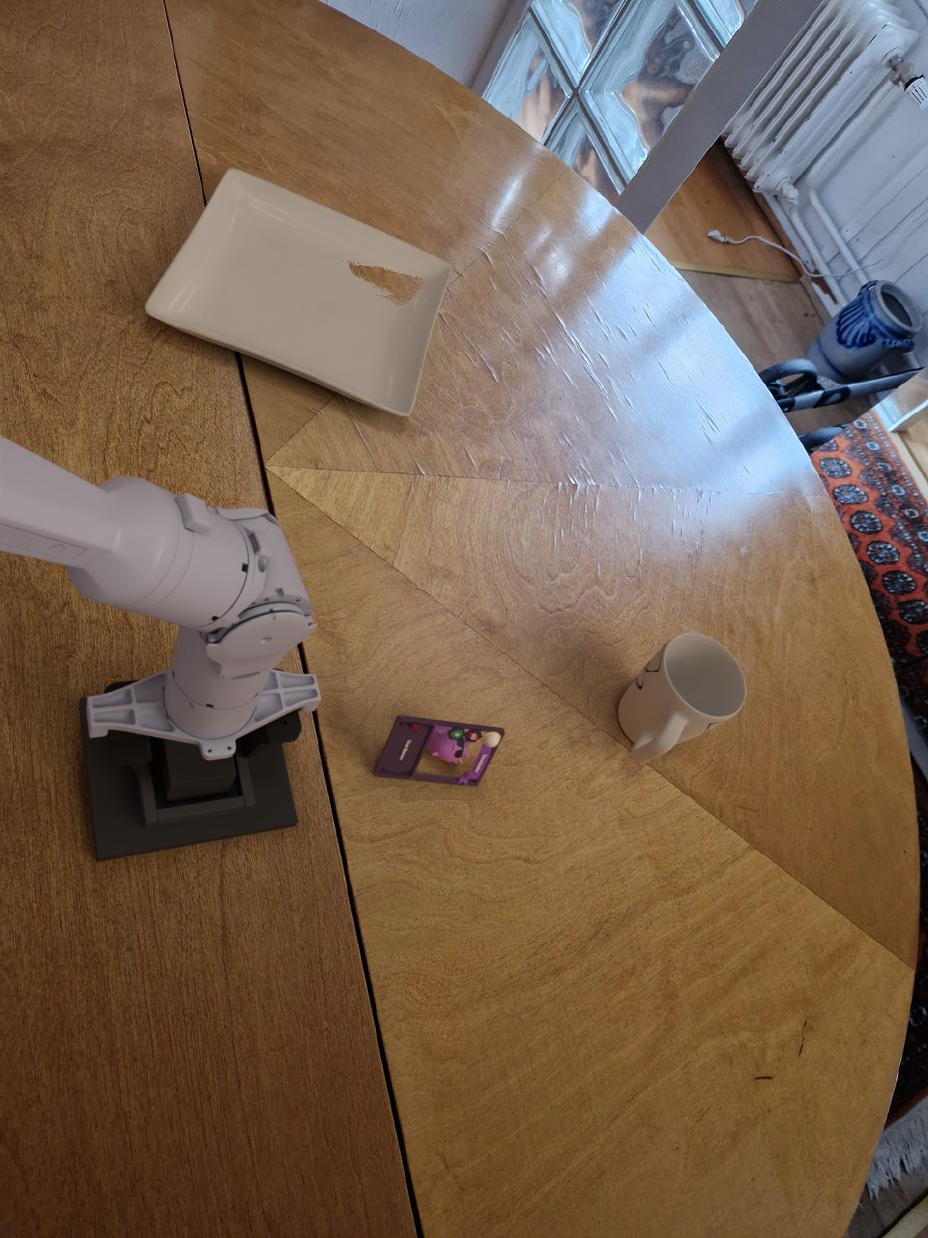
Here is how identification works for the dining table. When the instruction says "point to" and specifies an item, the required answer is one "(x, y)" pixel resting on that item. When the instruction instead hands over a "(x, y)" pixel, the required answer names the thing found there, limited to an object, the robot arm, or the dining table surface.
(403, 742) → the game card
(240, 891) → the dining table surface
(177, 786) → the small block
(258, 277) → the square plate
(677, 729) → the mug
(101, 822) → the base pad
